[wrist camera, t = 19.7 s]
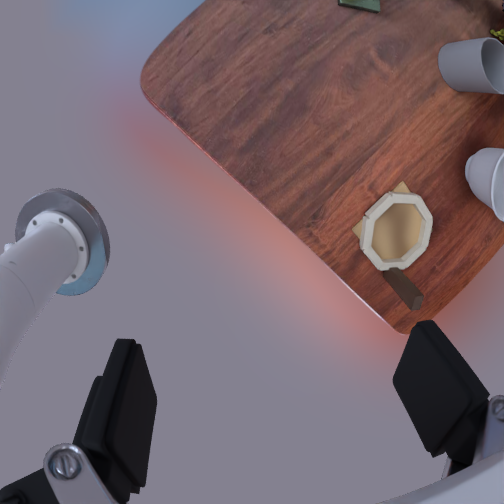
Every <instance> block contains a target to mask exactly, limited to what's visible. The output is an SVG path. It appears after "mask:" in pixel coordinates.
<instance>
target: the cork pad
mask: <svg viewBox="0 0 504 504" xmlns="http://www.w3.org/2000/svg"><path fill="white" fill-rule="evenodd" d="M391 192H406V193H411V192H410V191H409V189H408V188H407V186H406V185H405V183H404V182H403V181H401V182H400V183H399V184H398V185H397V186H396V187H395V188H394V189H393V190H392V191H391ZM362 222H363V219H361V220H360V221H359V222H358V223H357V224H356V225H355V226H354V227H353V228H352V229H351V230H352V231H353V232H354V233H355V234H356V236H357V237H358V238H359V239H360V237H361V230H362ZM421 222H422V218H421V217H420V215H419V213H418V212H417V210H416V209H415V207H414V205H413V204H404V203H393V204H392V205H391V206H390V207H389V208H388V209H387V210H386V211H385V212H384V213H383V214H382V215H381V216H380V217H379V218H378V219H377V220H376V221H375V223H374V230H373V237H372V243H371V247H372V248H373V250H374V251H375V252H376V253H377V255H378V256H379V257H380V258H381V259H394V258H401V257H402V256H403V255H405V254H406V253H407V252H408V251H409V250H410V249H411V248H412V247H413V246H414V245H415V244H416V243H417V242H418V238H419V233H420V228H421ZM432 231H433V229H431V232H432Z"/></svg>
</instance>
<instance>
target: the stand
mask: <svg viewBox="0 0 504 504" xmlns="http://www.w3.org/2000/svg"><path fill="white" fill-rule="evenodd" d="M338 5H341V6H346V7H351V8H356V9H360V10H365V11H369V12H373V13H379V12H380V0H338Z"/></svg>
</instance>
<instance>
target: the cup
mask: <svg viewBox="0 0 504 504" xmlns="http://www.w3.org/2000/svg"><path fill="white" fill-rule="evenodd" d="M438 64H439V69H440V72H441V74H442V77H443V79H444V80H445V81H446V83H447V84H448V85H449V86H450V87H451V88H453V89H454V90H456V91H458V92H481V93H496V94H504V45H503V44H502V43H501V42H499V41H498V40H497V39H495V38H489V37H487V38H479V39H472V40H465V41H459V42H453V43H448V44H446V45H444V46H443V47H441V49H440V52H439V55H438Z"/></svg>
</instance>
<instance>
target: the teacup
mask: <svg viewBox="0 0 504 504" xmlns="http://www.w3.org/2000/svg"><path fill="white" fill-rule="evenodd" d="M465 176H466V179H467V181H468V183H469V185H470V188H471V190H472V192H473V193H474V195H475V196H476V197H477V198H478V199H479V200H481V201H482V202H483V203H485V204H486V205H487V206H489V207H490V208H491V209H493V210H494V212H495V214H496V216H497V217H498V218H499V219H500V220H501V221H503V222H504V149H499V148H484V149H481V150H479V151H478V152H477V153H476V154H474V155H472V156H471V157H470V158H469V159H468V161H467V163H466V167H465Z"/></svg>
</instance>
